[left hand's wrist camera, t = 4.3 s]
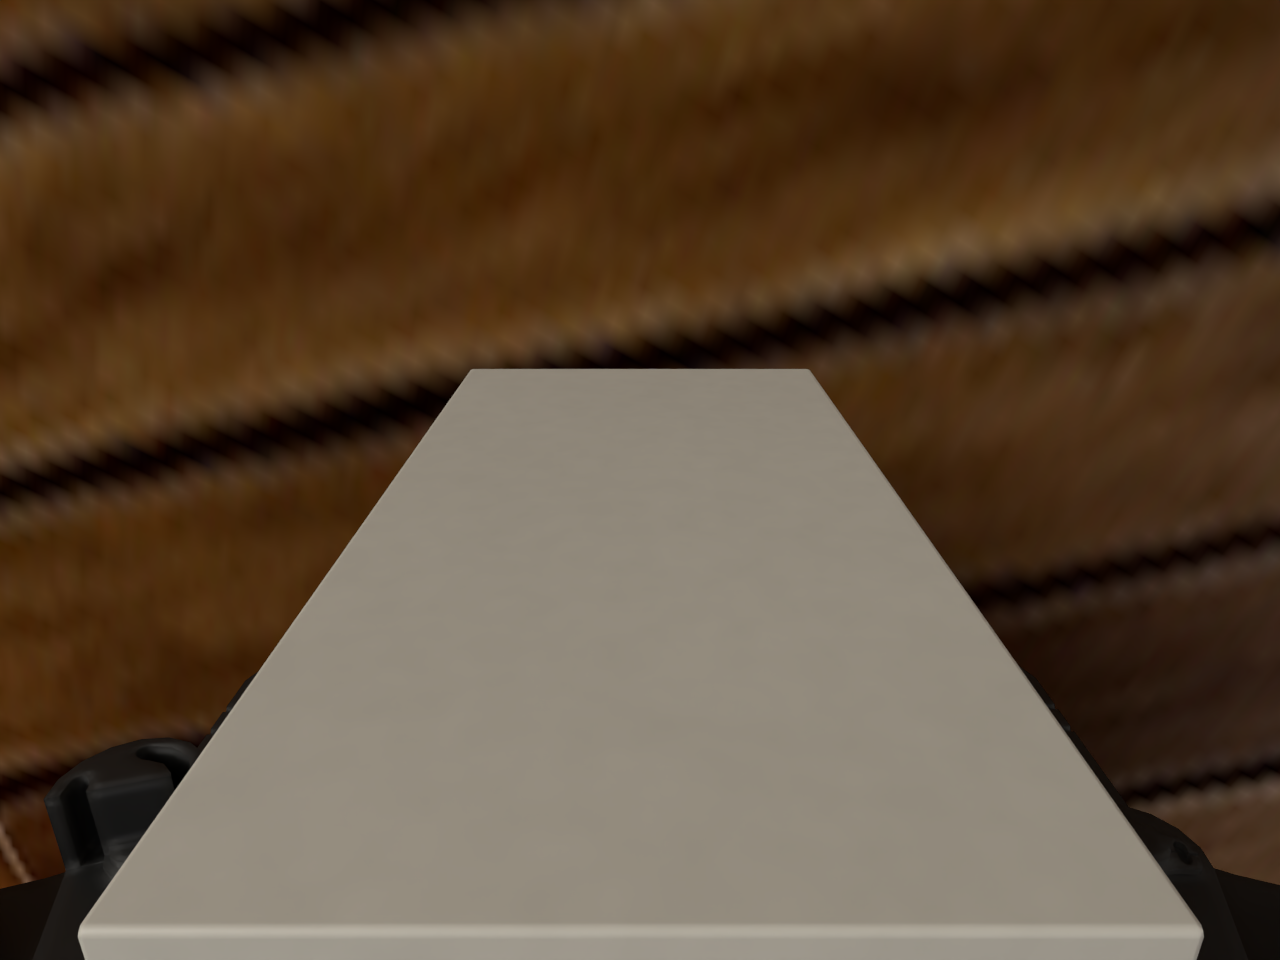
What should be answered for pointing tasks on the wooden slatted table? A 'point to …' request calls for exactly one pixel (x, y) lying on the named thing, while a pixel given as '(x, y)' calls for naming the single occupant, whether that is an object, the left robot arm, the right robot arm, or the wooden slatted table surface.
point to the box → (640, 718)
